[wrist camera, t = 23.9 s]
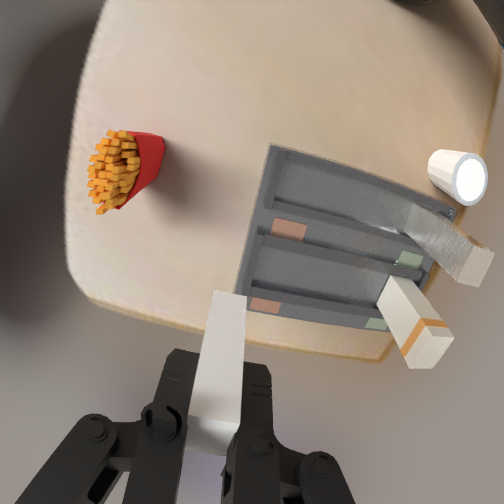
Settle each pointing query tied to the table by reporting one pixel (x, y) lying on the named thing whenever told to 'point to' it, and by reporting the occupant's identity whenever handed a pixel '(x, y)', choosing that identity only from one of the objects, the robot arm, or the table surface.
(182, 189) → the table surface
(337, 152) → the table surface
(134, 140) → the french fries
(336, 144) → the table surface
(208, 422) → the robot arm
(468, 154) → the white short cylinder
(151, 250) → the table surface
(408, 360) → the handle
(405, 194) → the breaker panel
